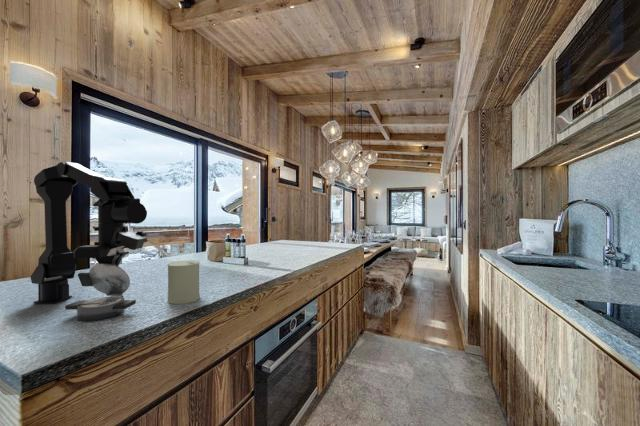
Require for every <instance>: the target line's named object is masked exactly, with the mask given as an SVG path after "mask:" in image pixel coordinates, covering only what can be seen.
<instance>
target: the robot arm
mask: <svg viewBox="0 0 640 426" xmlns="http://www.w3.org/2000/svg"><path fill="white" fill-rule="evenodd" d="M33 183H34V185H35V189H36V193H37V195H38V196H39V197H40V198H41V199H42V200H43V203H44V204H43V205H44V206H43V207H44V230H45V231H44V234H45V250H44V251H43V252H42V253H41V254H40V256H39V257H38V264H37V266H36V268H35V269H34V271H33V272H32V274H31V275H30V281H31V283H32V284H33V285H34V284H35V285H38V286H37V287H38V298H37V299H38V300H35V301H33V302H32V303H33V304H57V303H59V302H62V301H65V300H68V299H70V298H73V295H70V284H69V279H70V280H71V279H74V278H75V274H76V270H77V266H78V263H77V259H95V260H96V262H97V264H99V263H111V264H114V265H117V266H119V267H120V263H121V261H122V259H123V258H124V257H125V256H127V255H129V253H130V251H125V249H129V250H135V251H136V250H138V249H143V246H144V244H145V243H147V242H148V235H147V232H146V231H144V230H139V231H138V230H137V232H131V231H129V226H127V225H124V224H135V225H137V224H142V223H143V222H144V221H145V220H146V218H147V216H148V210H147V208H146V207H145V205H144V204H142V203H141V199H140V198H135V196H134V194H133V193H132V191H131V189H130V188H129V185H128V183H127V181H126V180H124V179H120V178H116V177H109V176H104V175H102V174H100V173H98V172H96V171H93V170H91V169H90V168H87V167H85V166H83V165H82V164H80V163H77V162H71V161H60V162H58V163H57V164H56V165H53V166H50V167H46V168H43V169H42V170H40V171H39V172H38V173H37V174H36V175H35V176H34V178H33ZM79 183H80V184H82V185H84V186H86V187H88V188H89V191H90V193H91V194H92V195H93V196H94V197H96V198H98V200H97V201H95V202H94V203H93V204H92V205H93V207H95V208H97V215H98V216H97V224H98V225H97V226H94V227H93V228H94V229H93V231H94V232H98V233H97V234H98V235H97V238H98V239H97V240H98V241H94V244H89V245H87V244H86V245H81V246H77V247H76V248H75V249H74V250H73V251H72V250H71V249H70V248H69V246H68V227H67V226H68V224H67V200H68V199H69V198H70V197H71V195H72V194H73V191H74V187H75V186H76V185H78V184H79Z"/></svg>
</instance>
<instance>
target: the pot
mask: <svg viewBox="0 0 640 426" xmlns="http://www.w3.org/2000/svg"><path fill="white" fill-rule="evenodd" d="M136 302H137V300H136V299H125V297H124V295H122V296H102V297H96V298H92V299H88V300H85V299H84V300H83V299H82V300H79V299H78V300H77V301H74V302H70V303H68V304H66V305H65V310H66V311H67V310H70V311H71V310H72V311H73V310H76V320H77V321H78V322H80V323H95V322H96V323H97V322H102V321H106V320H110V319H114V318H117V317H120V316H121V315H123V314H124V313H125V310H126V309H127V308H128V309H129V308H130V307H132V306H134V305H136V304H137V303H136Z"/></svg>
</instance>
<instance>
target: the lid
mask: <svg viewBox="0 0 640 426" xmlns="http://www.w3.org/2000/svg"><path fill="white" fill-rule="evenodd" d="M77 277H78V280H79V282H80V284H81V286H82V287H93V288H94V289H95V290H96V291H99V292H100V293H102V294H104V295H106V297H111V296H124V293H126V291H128V289H129V288H130V285H131V280H130V279H131V278H130V276H129V275H128V273H127V272H126V271H125V270H124V269H123V268H121V266H120V265H119V266H117V265H114V264H111V263H97V264H94V265H93V266H91V268H90V269H89V271H88V272H79V273H77Z"/></svg>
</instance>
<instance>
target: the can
mask: <svg viewBox="0 0 640 426" xmlns="http://www.w3.org/2000/svg"><path fill="white" fill-rule="evenodd" d="M200 264H201V263H200V260H199V261H198V260H177V261H173V262H169V263H168V264H167V280H168V281H167V291H168V292H167V303H169V304H170V305H171V304H172V305H183V304H190V303H194V302H196V301H198V300H199V299H200V298H201V297H200Z"/></svg>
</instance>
